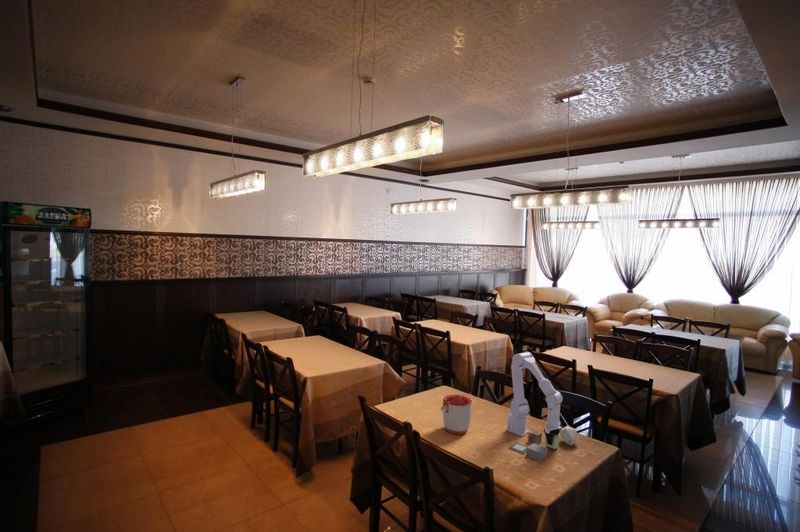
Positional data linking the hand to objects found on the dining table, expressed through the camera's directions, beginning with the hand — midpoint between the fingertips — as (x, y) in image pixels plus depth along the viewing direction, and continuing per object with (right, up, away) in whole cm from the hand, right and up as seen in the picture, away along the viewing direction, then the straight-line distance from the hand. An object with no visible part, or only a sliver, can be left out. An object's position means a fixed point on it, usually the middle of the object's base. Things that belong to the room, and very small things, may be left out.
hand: (551, 442), depth 199 cm
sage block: (0, -1, 0) cm, 2 cm away
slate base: (-10, -3, -8) cm, 13 cm away
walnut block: (-7, -2, +6) cm, 9 cm away
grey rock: (+11, -3, +6) cm, 13 cm away
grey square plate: (-17, -2, -2) cm, 17 cm away
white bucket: (-47, -1, +16) cm, 50 cm away
